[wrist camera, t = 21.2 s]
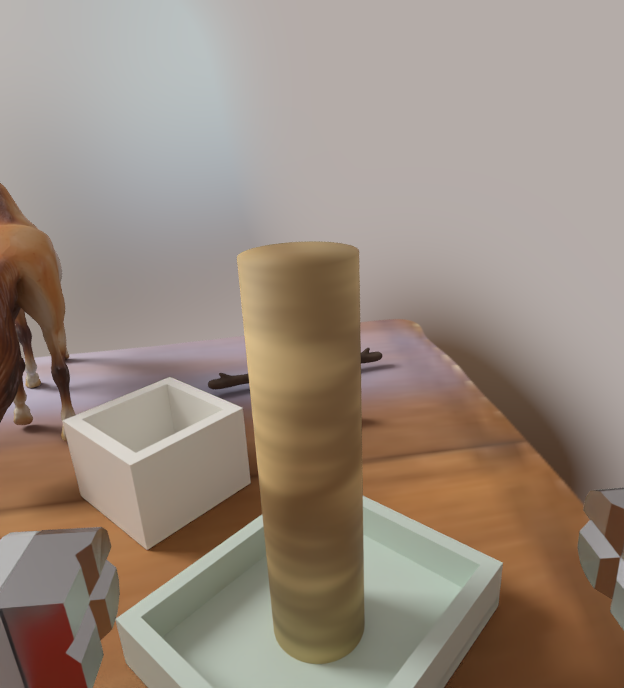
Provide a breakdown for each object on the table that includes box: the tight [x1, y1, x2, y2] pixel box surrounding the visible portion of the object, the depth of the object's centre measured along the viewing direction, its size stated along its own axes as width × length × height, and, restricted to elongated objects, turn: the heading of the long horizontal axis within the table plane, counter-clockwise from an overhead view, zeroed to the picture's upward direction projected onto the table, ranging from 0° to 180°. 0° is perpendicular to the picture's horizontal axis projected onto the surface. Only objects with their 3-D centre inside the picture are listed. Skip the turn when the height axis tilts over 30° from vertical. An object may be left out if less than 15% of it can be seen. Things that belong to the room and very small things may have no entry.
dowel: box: [237, 242, 365, 664], centre depth 23 cm, size 4×4×18 cm
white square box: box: [62, 377, 251, 550], centre depth 37 cm, size 8×8×6 cm
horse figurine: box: [0, 183, 75, 441], centre depth 48 cm, size 31×8×21 cm, turn 23°
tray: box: [115, 496, 503, 688], centre depth 26 cm, size 14×12×3 cm
